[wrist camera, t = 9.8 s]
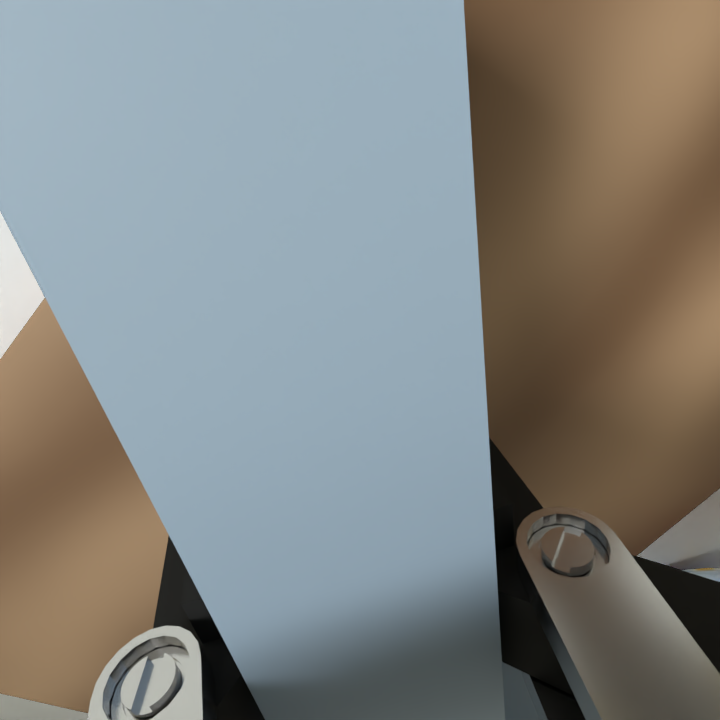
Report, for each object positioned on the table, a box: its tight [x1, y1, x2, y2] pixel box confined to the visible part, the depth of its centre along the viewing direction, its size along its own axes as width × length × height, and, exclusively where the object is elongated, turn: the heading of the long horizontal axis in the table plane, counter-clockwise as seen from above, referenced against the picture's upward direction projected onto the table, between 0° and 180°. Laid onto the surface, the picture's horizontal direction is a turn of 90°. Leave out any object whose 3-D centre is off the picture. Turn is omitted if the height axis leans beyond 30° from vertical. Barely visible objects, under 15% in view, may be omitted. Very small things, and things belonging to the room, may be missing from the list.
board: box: [0, 0, 720, 713], centre depth 12 cm, size 17×22×1 cm
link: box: [0, 0, 540, 720], centre depth 9 cm, size 19×6×5 cm, turn 10°
